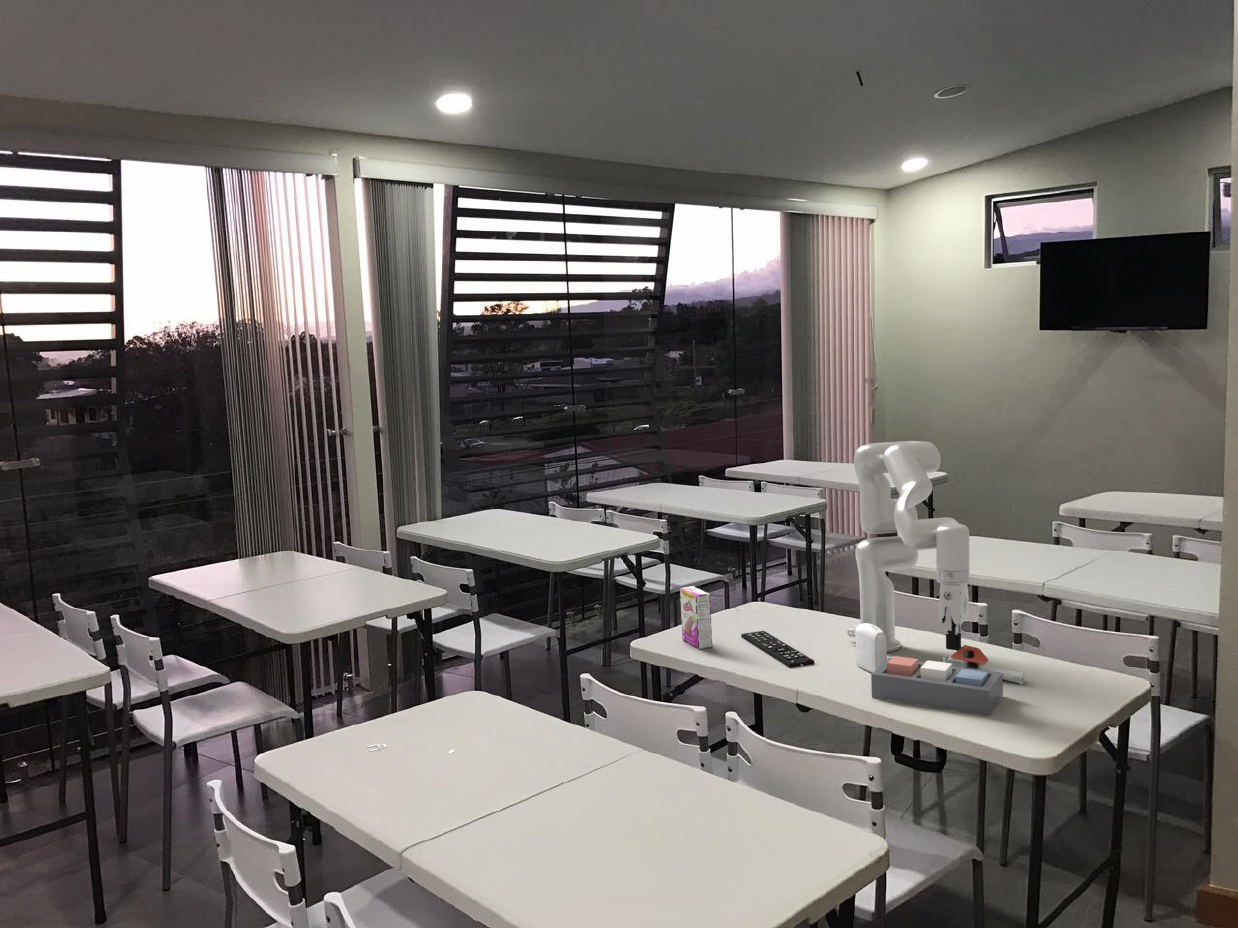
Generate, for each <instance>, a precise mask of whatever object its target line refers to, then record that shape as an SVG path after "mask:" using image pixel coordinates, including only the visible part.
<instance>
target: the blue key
mask: <svg viewBox="0 0 1238 928" xmlns="http://www.w3.org/2000/svg"><path fill="white" fill-rule="evenodd" d="M987 680H988V673H987V672H980V671H973V670H965V669H962V670H961V671H960V672H959V673H958V674H957V676H956V683H958V684H965V685H972V686H979V687H982V686H983V685H984V684H985V683H986V681H987Z"/></svg>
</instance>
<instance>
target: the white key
mask: <svg viewBox="0 0 1238 928" xmlns="http://www.w3.org/2000/svg"><path fill="white" fill-rule="evenodd" d="M925 662H926V663H925V664H924V665H923V666H922V667H921V678H922V679H929V680H936V681H944V682H946V681H947V680H948V679H949V678H950V677H951V675H952V663H944V662H943V661H934V660H926V661H925Z"/></svg>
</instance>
